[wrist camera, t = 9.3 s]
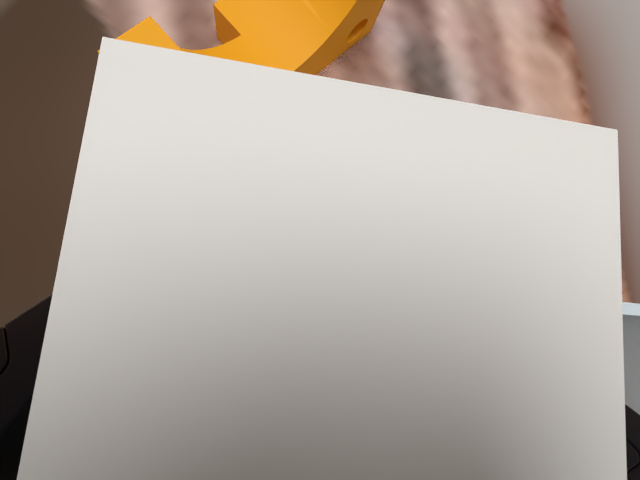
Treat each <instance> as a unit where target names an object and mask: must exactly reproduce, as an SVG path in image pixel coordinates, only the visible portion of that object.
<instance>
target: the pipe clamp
mask: <svg viewBox="0 0 640 480" xmlns="http://www.w3.org/2000/svg"><path fill="white" fill-rule="evenodd" d="M384 1H385V0H219V1H218V2H216V3H214V4H213V6H214V14H215V22H216V31H217V38H218V39H219V40H220V41H221V42H222V43H223V44H222V45H220V46H217V47H214V48H209V49H204V50H188V49H183V48H180V47H178V46H177V45H176V44H175V43H174V42H173V41H172V39H171V38H170V37H169V36H168V35H167V34H166V33H165V32H164V31H163V30H162V29H161V27H160V26H159V25H158V24H157V23H156V22H155V21H154V20H153V19H152V18H151V17H150V16H149V17H148V18H146V19H145V20H143V21H142V22H140V23H139V24H137V25H136V26H134V27H133V28H131V29H130V30H128V31H127V32H125V33H124V34H122V35H121V36H119V37H118V38H116V39H118V40H123V41H129V42H134V43H140V44H146V45H151V46H157V47H162V48H168V49H173V50H179V51H184V52H190V53H195V54H201V55H206V56H212V57H217V58H223V59H228V60H234V61H239V62H245V63H251V64H256V65H262V66H267V67H273V68H278V69H284V70H289V71H295V72H300V73H306V74H311V75H316V74H317V73H319V72H320V71H321V70H322V69H324V68H325V67H326V66H327V65H329V64H330V63H331V62H332V61H334V60H335V59H336V58H337V57H339V56H340V55H341V54H343V53H344V52H345V51H346V50H348V49H349V48H350V47H351V46H353V45H354V44H355V43H356V42H358V41H359V40H360V39H361V38H363V37H364V36H365V35H366V34H368V33H369V32H370V31H371V29H372V27H373V25H374V23H375V21H376V18H377V16H378V14H379V12H380V10H381V8H382V5H383V3H384ZM98 53H100V50H98Z"/></svg>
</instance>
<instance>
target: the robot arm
mask: <svg viewBox="0 0 640 480" xmlns="http://www.w3.org/2000/svg"><path fill="white" fill-rule="evenodd" d="M52 295H53V294H51V295H50V296H48V297H47V298H45V299H44V300H42V301H40V302H39V303H37V304H36V305H34V306H33V307H31V308H30V309H28V310H27V311H25V312H24V313H22V314H20V315H19V316H17V317H16V318H14V319H13V320H11V321H10V322H8V323H7V324H5V328H3V327H1V328H0V480H17V475H18V470H19V465H20V459H21V454H22V449H23V444H24V439H25V434H26V428H27V423H28V418H29V413H30V408H31V403H32V398H33V392H34V387H35V382H36V377H37V372H38V367H39V362H40V356H41V351H42V346H43V341H44V336H45V331H46V325H47V320H48V315H49V310H50V305H51V300H52ZM625 423H626V460H627V480H640V415H639V414H638V413H637V412H635V411H634V410H633V409H631V408H630V407H629V406H627V405H626V404H625Z"/></svg>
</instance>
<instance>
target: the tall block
mask: <svg viewBox="0 0 640 480" xmlns="http://www.w3.org/2000/svg"><path fill="white" fill-rule="evenodd" d="M617 134H618V130H615V129H610V128H604V127H598V126H593V125H587V124H582V123H576V122H571V121H565V120H560V119H554V118H549V117H543V116H538V115H532V114H527V113H521V112H516V111H510V110H505V109H499V108H494V107H488V106H483V105H477V104H471V103H466V102H460V101H455V100H449V99H444V98H438V97H433V96H427V95H422V94H416V93H411V92H405V91H400V90H394V89H389V88H383V87H378V86H372V85H367V84H361V83H355V82H350V81H344V80H339V79H333V78H328V77H322V76H317V75H311V74H306V73H300V72H295V71H289V70H284V69H278V68H273V67H267V66H262V65H256V64H251V63H245V62H239V61H234V60H228V59H223V58H217V57H212V56H206V55H201V54H195V53H190V52H184V51H179V50H173V49H168V48H162V47H157V46H151V45H146V44H140V43H134V42H129V41H123V40H118V39H112V38H107V37H102V43H101V47H100V53H99V58H98V63H97V68H96V74H95V78H94V83H93V89H92V94H91V99H90V105H89V109H88V115H87V120H86V125H85V131H84V135H83V140H82V145H81V151H80V156H79V161H78V166H77V171H76V176H75V182H74V186H73V192H72V197H71V202H70V207H69V212H68V217H67V223H66V228H65V233H64V238H63V243H62V249H61V254H60V259H59V264H58V269H57V274H56V279H55V284H54V289H53V295H52V300H51V305H50V310H49V315H48V320H47V325H46V331H45V336H44V341H43V346H42V351H41V356H40V362H39V367H38V372H37V377H36V382H35V387H34V392H33V398H32V403H31V408H30V413H29V418H28V423H27V428H26V434H25V439H24V444H23V449H22V454H21V459H20V465H19V470H18V475H17V480H627V460H626V423H625V387H624V350H623V313H622V276H621V240H620V203H619V167H618V135H617Z"/></svg>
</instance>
